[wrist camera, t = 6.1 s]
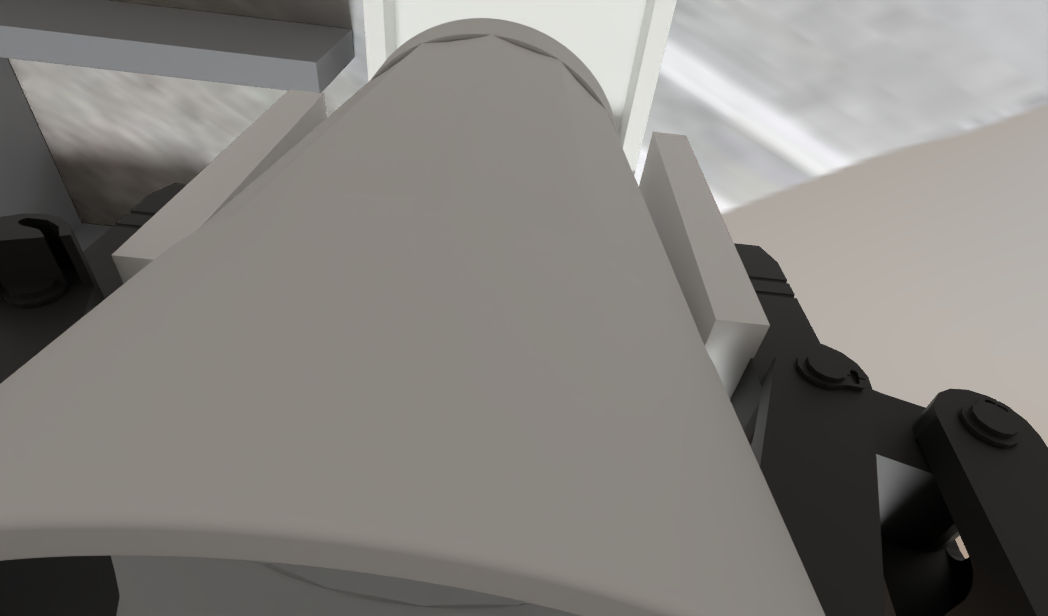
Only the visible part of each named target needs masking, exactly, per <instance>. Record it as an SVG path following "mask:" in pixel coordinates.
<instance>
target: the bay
mask: <svg viewBox="0 0 1048 616" xmlns="http://www.w3.org/2000/svg"><path fill="white" fill-rule="evenodd" d="M7 58H12V59H21V60H29V61H38V62H47V63H55V64H64V65H73V66H81V67H90V68H98V69H107V70H116V71H124V72H133V73H142V74H150V75H159V76H167V77H176V78H185V79H193V80H202V81H211V82H219V83H228V84H237V85H245V86H254V87H262V88H271V89H280V90H299V91H307V92H316V93H321V92H322V91H323V90H324V89H325V88H326V87H327V86H328V85H329V84H330V83H331V82H332V81H333V80H334V78H335V77H336V76H337V75H338V74H339V73H340V72H341V71H342V70H343V69H344V68H345V67H346V66H347V65H348V64H349V62H350V61H351V60H352V59H353V58H354V47H353V35H352V29H345V28H337V27H329V26H320V25H312V24H303V23H295V22H287V21H278V20H270V19H262V18H253V17H245V16H237V15H228V14H220V13H211V12H203V11H195V10H186V9H178V8H170V7H161V6H153V5H144V4H136V3H128V2H119V1H111V0H0V217H3V216H10V215H17V214H24V213H27V214H48V215H52V216H56V217H60V218H62V219H64V220H65V221H66V222H67V223H68V224H70V225H71V227H72V229H73V232H74V234H75V236H76V238H77V240H78V242H79V244H80V247H81V249H82V251H84V250H86V249H87V248H88V247H89V246H90V245H91V244H93V243H94V242H95V241H96V240H97V239H98V238H99V237H101V236H102V235H103V234H104V233H105V232H106V231H108V230H109V229H110V228H111V227H112V226H105V225H96V224H86V223H82V222H81V220H80V218H79V216H78V214H77V211H76V209H75V207H74V205H73V203H72V200H71V198H70V196H69V194H68V191H67V189H66V187H65V185H64V183H63V180H62V178H61V176H60V174H59V172H58V169H57V167H56V165H55V163H54V160H53V158H52V156H51V154H50V152H49V149H48V147H47V145H46V143H45V141H44V138H43V136H42V134H41V132H40V129H39V127H38V125H37V123H36V121H35V118H34V116H33V114H32V112H31V110H30V107H29V105H28V103H27V101H26V98H25V96H24V94H23V92H22V90H21V87H20V85H19V83H18V81H17V79H16V76H15V74H14V72H13V70H12V67H11V65H10V63H9V61H8V59H7Z"/></svg>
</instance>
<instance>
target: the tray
mask: <svg viewBox="0 0 1048 616" xmlns="http://www.w3.org/2000/svg"><path fill="white" fill-rule="evenodd" d="M676 1H677V0H363V11H364V25H365V39H366V53H367V67H368V82H369V81H370V80H371V79H372V77H373V76H374V75H375V73H376V72H377V71H378V70H379V68H380V67H381V66H382V65H383V63H384V62H385V61H386V60H387V59H388V57H389V56H390V55H391V54H392V53H393V52H394V51H395V50H396V49H398V48H399V47H400V46H401V45H402V44H404V43H405V42H406V41H408V40H409V39H411V38H412V37H414V36H416V35H417V34H419V33H421V32H423V31H425V30H427V29H429V28H432V27H434V26H437V25H440V24H443V23H447V22H451V21H455V20H461V19H469V18H492V19H501V20H507V21H512V22H516V23H519V24H523V25H526V26H528V27H531V28H534V29H536V30H538V31H540V32H543V33H545V34H546V35H548V36H550V37H552V38H553V39H555V40H557V41H558V42H560V43H561V44H563V45H564V46H565V47H567V48H568V49H569V50H570V51H572V52H573V53H574V54H575V55H576V56H577V57H578V58H579V59H580V60H581V61H582V62H583V63H584V64H585V65H586V66H587V67H588V69H589V70H590V71H591V72H592V74H593V75H594V77H595V78H596V79H597V81H598V82H599V84H600V86H601V87H602V89H603V91H604V93H605V95H606V97H607V99H608V102H609V104H610V107H611V110H612V113H613V116H614V120H615V124H616V129H617V134H618V138H619V141H620V143H621V146H622V148H623V151H624V153H625V155H626V158H627V160H628V163H629V165H630V167H631V170H632V172H633V175H634V174H635V170H636V165H637V161H638V157H639V153H640V149H641V145H642V141H643V137H644V133H645V128H646V124H647V120H648V116H649V112H650V108H651V104H652V100H653V96H654V91H655V87H656V83H657V79H658V75H659V71H660V67H661V63H662V59H663V54H664V50H665V46H666V42H667V38H668V34H669V30H670V26H671V22H672V17H673V13H674V9H675V5H676Z"/></svg>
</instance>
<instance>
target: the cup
mask: <svg viewBox="0 0 1048 616" xmlns="http://www.w3.org/2000/svg"><path fill="white" fill-rule="evenodd" d="M107 555H111V559H112V562H113V566H114V571H115V575H116V580H117V584H118V589H119V595H120V598H119V603H118V609H117V615H116V616H825V613H824V611H823V609H822V607H821V604H820V602H819V600H818V598H817V595H816V593H815V591H814V589H813V586H812V584H811V582H810V580H809V577H808V575H807V573H806V571H805V568H804V566H803V564H802V562H801V559H800V557H799V555H798V552H797V550H796V548H795V546H794V543H793V541H792V539H791V537H790V534H789V532H788V530H787V528H786V525H785V523H784V521H783V519H782V516H781V514H780V512H779V510H778V507H777V505H776V503H775V501H774V498H773V496H772V494H771V492H770V489H769V487H768V485H767V483H766V480H765V478H764V476H763V473H762V471H761V469H760V467H759V464H758V462H757V460H756V458H755V455H754V453H753V451H752V449H751V446H750V444H749V442H748V440H747V437H746V435H745V433H744V431H743V428H742V426H741V424H740V422H739V419H738V417H737V415H736V413H735V410H734V408H733V406H732V404H731V401H730V399H729V397H728V394H727V392H726V390H725V388H724V385H723V383H722V381H721V379H720V376H719V374H718V372H717V370H716V367H715V365H714V364H713V362H712V360H711V358H710V356H709V354H708V353H707V350H706V348H705V345H704V343H703V341H702V338H701V336H700V333H699V331H698V328H697V326H696V324H695V321H694V319H693V316H692V314H691V312H690V309H689V307H688V304H687V302H686V300H685V297H684V295H683V292H682V290H681V288H680V285H679V283H678V280H677V278H676V276H675V273H674V271H673V268H672V266H671V264H670V261H669V259H668V256H667V254H666V252H665V249H664V247H663V244H662V242H661V240H660V237H659V235H658V232H657V230H656V228H655V225H654V223H653V220H652V218H651V215H650V213H649V211H648V208H647V206H646V203H645V201H644V199H643V196H642V194H641V191H640V189H639V187H638V184H637V182H636V179H635V177H634V175H633V172H632V170H631V167H630V165H629V163H628V160H627V158H626V155H625V153H624V151H623V148H622V146H621V143H620V141H619V138H618V134H617V129H616V124H615V120H614V116H613V113H612V110H611V107H610V104H609V102H608V99H607V97H606V95H605V93H604V91H603V89H602V87H601V86H600V84H599V82H598V81H597V79H596V78H595V77H594V75H593V74H592V72H591V71H590V70H589V69H588V67H587V66H586V65H585V64H584V63H583V62H582V61H581V60H580V59H579V58H578V57H577V56H576V55H575V54H574V53H573V52H572V51H570V50H569V49H568V48H567V47H565V46H564V45H563V44H561V43H560V42H558V41H557V40H555V39H553V38H552V37H550V36H548V35H546V34H545V33H543V32H540V31H538V30H536V29H534V28H531V27H528V26H526V25H523V24H519V23H516V22H512V21H507V20H501V19H492V18H469V19H461V20H455V21H451V22H447V23H443V24H440V25H437V26H434V27H432V28H429V29H427V30H425V31H423V32H421V33H419V34H417V35H416V36H414V37H412V38H411V39H409V40H408V41H406V42H405V43H404V44H402V45H401V46H400V47H399V48H398V49H396V50H395V51H394V52H393V53H392V54H391V55H390V56H389V57H388V59H387V60H386V61H385V62H384V63H383V65H382V66H381V67H380V68H379V70H378V71H377V72H376V73H375V75H374V76H373V77H372V79H371V80H370V81H369V82H368V83H367V84H366V85H365V86H364V87H362V88H361V89H360V90H359V91H358V92H357V93H356V94H354V95H353V96H352V97H351V98H350V99H349V100H347V101H346V102H345V103H344V104H343V105H342V106H340V107H339V108H338V109H337V110H336V111H335V112H333V113H332V114H331V115H330V116H329V117H328V118H326V119H325V120H324V121H323V122H322V123H321V124H319V125H318V126H317V127H316V128H315V129H314V130H313V131H311V132H310V133H309V134H308V135H307V136H306V137H304V138H303V139H302V140H301V141H300V142H299V143H297V144H296V145H295V146H294V147H293V148H292V149H290V150H289V151H288V152H287V153H286V154H285V155H283V156H282V157H281V158H280V159H279V160H278V161H276V162H275V163H274V164H273V165H272V166H271V167H270V168H268V169H267V170H266V171H265V172H264V173H263V174H261V175H260V176H259V177H258V178H257V179H256V180H254V181H253V182H252V183H251V184H250V185H249V186H247V187H246V188H245V189H244V190H243V191H242V192H240V193H239V194H238V195H237V196H236V197H235V198H234V199H232V200H231V201H230V202H229V203H228V204H227V205H225V206H224V207H223V208H222V209H221V210H220V211H218V212H217V213H216V214H215V215H214V216H213V217H211V218H210V219H209V220H208V221H207V222H206V223H204V224H203V225H202V226H201V227H200V228H199V229H197V230H196V231H195V232H194V233H192V234H190V235H188V236H187V237H185V238H183V239H182V240H180V241H178V242H177V243H175V244H174V245H172V246H171V247H170V248H168V249H167V250H165V251H164V252H163V253H161V254H160V255H159V256H158V257H157V258H155V259H154V260H153V261H152V262H150V263H149V264H148V265H147V266H145V267H144V268H143V269H142V270H140V271H139V272H138V273H137V274H136V275H134V276H133V277H132V278H131V279H129V280H128V281H127V282H126V283H124V284H123V285H122V286H121V287H119V288H118V289H117V290H116V291H115V292H113V293H112V294H111V295H110V296H108V297H107V298H106V299H105V300H103V301H102V302H101V303H100V304H98V305H97V306H96V307H95V308H93V309H92V310H91V311H90V312H89V313H87V314H86V315H85V316H84V317H82V318H81V319H80V320H79V321H77V322H76V323H75V324H74V325H72V326H71V327H70V328H69V329H68V330H66V331H65V332H64V333H63V334H61V335H60V336H59V337H58V338H56V339H55V340H54V341H53V342H51V343H50V344H49V345H48V346H47V347H45V348H44V349H43V350H42V351H40V352H39V353H38V354H37V355H35V356H34V357H33V358H32V359H30V360H29V361H28V362H27V363H26V364H24V365H23V366H22V367H21V368H19V369H18V370H17V371H16V372H14V373H13V374H12V375H11V376H9V377H8V378H7V379H6V380H5V381H3V382H2V383H1V384H0V561H3V560H13V559H27V558H42V557H65V556H107Z"/></svg>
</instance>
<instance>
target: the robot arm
mask: <svg viewBox="0 0 1048 616" xmlns="http://www.w3.org/2000/svg"><path fill="white" fill-rule="evenodd" d="M326 118H327V115H326V107H325V98H324V93H316V92H307V91H299V90H288V91H287V92H286V93H285V94H284V95H283V96H282V97H281V98H280V99H279V100H278V101H277V102H276V103H274V104H273V105H272V106H271V107H270V108H269V109H268V110H267V111H266V112H265V113H264V114H263V115H262V116H260V117H259V118H258V119H257V120H256V121H255V122H254V123H253V124H252V125H251V126H250V127H249V128H248V129H246V130H245V131H244V132H243V133H242V134H241V135H240V136H239V137H238V138H237V139H236V140H235V141H234V142H232V143H231V144H230V145H229V146H228V147H227V148H226V149H225V150H224V151H223V152H222V153H221V154H220V155H218V156H217V157H216V158H215V159H214V160H213V161H212V162H211V163H210V164H209V165H208V166H207V167H206V168H204V169H203V170H202V171H201V172H200V173H199V174H198V175H197V176H196V177H195V178H194V179H193V180H192V181H190V182H189V183H188V184H178V183H174V184H172V185H170V186H167V187H165V188H163V189H161V190H159V191H156V192H154V193H152V194H150V195H148V196H147V197H146V198H145V199H143V200H142V201H141V202H140V203H139V204H138V205H136V206H135V207H134V208H133V209H132V210H131V214H128V213H127V214H126V215H125V216H124V217H123V218H121V219H120V220H119V221H118V222H117V223H116V224H117V225H116V227H115V226H112V227H111V228H110V229H109V230H108V231H106V232H105V233H104V234H103V235H102V236H101V237H99V238H98V239H97V240H96V241H95V242H94V243H93V244H91V245H90V246H89V247H88V248H87V249H86V250H84V251H82V249H81V247H80V244H79V242H78V240H77V238H76V236H75V234H74V232H73V229H72V227H71V225H70V224H68V223H67V222H66V221H65V220H64V219H62V218H60V217H56V216H52V215H48V214H27V213H24V214H17V215H10V216H3V217H0V384H1V383H2V382H3V381H5V380H6V379H7V378H8V377H9V376H11V375H12V374H13V373H14V372H16V371H17V370H18V369H19V368H21V367H22V366H23V365H24V364H26V363H27V362H28V361H29V360H30V359H32V358H33V357H34V356H35V355H37V354H38V353H39V352H40V351H42V350H43V349H44V348H45V347H47V346H48V345H49V344H50V343H51V342H53V341H54V340H55V339H56V338H58V337H59V336H60V335H61V334H63V333H64V332H65V331H66V330H68V329H69V328H70V327H71V326H72V325H74V324H75V323H76V322H77V321H79V320H80V319H81V318H82V317H84V316H85V315H86V314H87V313H89V312H90V311H91V310H92V309H93V308H95V307H96V306H97V305H98V304H100V303H101V302H102V301H103V300H105V299H106V298H107V297H108V296H110V295H111V294H112V293H113V292H115V291H116V290H117V289H118V288H119V287H121V286H122V285H123V284H124V283H126V282H127V281H128V280H129V279H131V278H132V277H133V276H134V275H136V274H137V273H138V272H139V271H140V270H142V269H143V268H144V267H145V266H147V265H148V264H149V263H150V262H152V261H153V260H154V259H155V258H157V257H158V256H159V255H160V254H161V253H163V252H164V251H165V250H167V249H168V248H170V247H171V246H172V245H174V244H175V243H177V242H178V241H180V240H182V239H183V238H185V237H187V236H188V235H190V234H192V233H194V232H195V231H196V230H197V229H199V228H200V227H201V226H202V225H203V224H204V223H206V222H207V221H208V220H209V219H210V218H211V217H213V216H214V215H215V214H216V213H217V212H218V211H220V210H221V209H222V208H223V207H224V206H225V205H227V204H228V203H229V202H230V201H231V200H232V199H234V198H235V197H236V196H237V195H238V194H239V193H240V192H242V191H243V190H244V189H245V188H246V187H247V186H249V185H250V184H251V183H252V182H253V181H254V180H256V179H257V178H258V177H259V176H260V175H261V174H263V173H264V172H265V171H266V170H267V169H268V168H270V167H271V166H272V165H273V164H274V163H275V162H276V161H278V160H279V159H280V158H281V157H282V156H283V155H285V154H286V153H287V152H288V151H289V150H290V149H292V148H293V147H294V146H295V145H296V144H297V143H299V142H300V141H301V140H302V139H303V138H304V137H306V136H307V135H308V134H309V133H310V132H311V131H313V130H314V129H315V128H316V127H317V126H318V125H319V124H321V123H322V122H323V121H324V120H325V119H326ZM639 189H640V191H641V194H642V196H643V199H644V201H645V203H646V206H647V208H648V211H649V213H650V215H651V218H652V220H653V223H654V225H655V228H656V230H657V232H658V235H659V237H660V240H661V242H662V244H663V247H664V249H665V252H666V254H667V256H668V259H669V261H670V264H671V266H672V268H673V271H674V273H675V276H676V278H677V280H678V283H679V285H680V288H681V290H682V292H683V295H684V297H685V300H686V302H687V304H688V307H689V309H690V312H691V314H692V316H693V319H694V321H695V324H696V326H697V328H698V331H699V333H700V336H701V338H702V341H703V343H704V345H705V348H706V350H707V353H708V354H709V356H710V358H711V360H712V362H713V364H714V365H715V367H716V370H717V372H718V374H719V376H720V379H721V381H722V383H723V385H724V388H725V390H726V392H727V394H728V397H729V399H730V401H731V404H732V406H733V408H734V410H735V413H736V415H737V417H738V419H739V422H740V424H741V426H742V428H743V431H744V433H745V435H746V437H747V440H748V442H749V444H750V446H751V449H752V451H753V453H754V455H755V458H756V460H757V462H758V464H759V467H760V469H761V471H762V473H763V476H764V478H765V480H766V483H767V485H768V487H769V489H770V492H771V494H772V496H773V498H774V501H775V503H776V505H777V507H778V510H779V512H780V514H781V516H782V519H783V521H784V523H785V525H786V528H787V530H788V532H789V534H790V537H791V539H792V541H793V543H794V546H795V548H796V550H797V552H798V555H799V557H800V559H801V562H802V564H803V566H804V568H805V571H806V573H807V575H808V577H809V580H810V582H811V584H812V586H813V589H814V591H815V593H816V595H817V598H818V600H819V602H820V604H821V607H822V609H823V611H824V613H825V616H1048V447H1047V446H1046V444H1045V443H1044V441H1043V440H1042V439H1041V437H1040V435H1039V434H1038V433H1037V432H1036V431H1035V430H1034V429H1033V428H1032V426H1031V425H1030V424H1029V423H1028V422H1027V421H1026V420H1025V419H1024V418H1022V417H1021V416H1020V415H1018V414H1017V413H1016V412H1014V411H1013V410H1012V409H1011V408H1010V407H1008V406H1006V405H1005V404H1003V403H1001V402H998V401H996V400H995V399H993V398H991V397H988V396H986V395H982V394H979V393H976V392H973V391H970V390H961V389H949V390H946V391H943V392H940V393H938V394H937V395H936V397H935V398H934V399H933V400H932V402H931V403H930V404H929V405H928V406H927V408H925V407H921V406H918V405H915V404H912V403H909V402H906V401H903V400H900V399H897V398H894V397H891V396H888V395H885V394H882V393H879V392H877V391H874V390H872V387H871V384H870V381H869V378H868V376H867V375H866V374H865V373H864V372H863V370H862V369H861V368H860V367H859V365H858V364H857V363H855V362H854V361H852V360H851V359H850V358H848V357H847V356H846V355H844V354H843V353H841V352H839V351H837V350H834V349H832V348H830V347H828V346H825V345H823V344H820V342H819V340H818V338H817V336H816V334H815V332H814V331H813V329H812V327H811V326H810V323H809V321H808V319H807V318H806V315H805V313H804V312H803V310H802V308H801V306H800V304H799V302H798V300H797V299H796V298H794V293H793V291H792V289H791V287H790V285H789V284H787V283H786V282H787V279H786V278H785V276H784V274H783V272H782V270H781V268H780V266H779V264H778V262H776V261H775V260H774V259H773V258H772V257H771V256H770V255H769V254H767V253H766V252H765V251H764V250H763V249H762V248H761V247H759V246H753V245H744V244H734V243H733V241H732V238H731V236H730V234H729V232H728V229H727V227H726V225H725V223H724V220H723V218H722V216H721V214H720V211H719V209H718V207H717V204H716V202H715V200H714V198H713V195H712V193H711V191H710V189H709V186H708V184H707V182H706V180H705V177H704V175H703V173H702V171H701V168H700V166H699V164H698V162H697V159H696V157H695V155H694V153H693V150H692V148H691V146H690V144H689V141H688V139H687V137H686V136H684V135H676V134H667V133H658V132H653V134H652V138H651V142H650V146H649V150H648V154H647V158H646V162H645V166H644V170H643V173H642V177H641V181H640V185H639ZM959 535H960V536H961V539H962V541H963V543H964V545H965V547H966V550H967V552H968V554H969V558H967V559H965V558H964V557H963V555H962V553H961V552H960V550H959V548H958V545H957V543H956V541H955V539H956V538H957V537H958V536H959ZM119 598H120V595H119V589H118V584H117V580H116V575H115V571H114V566H113V562H112V559H111V555H107V556H65V557H42V558H27V559H13V560H3V561H0V616H116V615H117V609H118V603H119Z"/></svg>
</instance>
